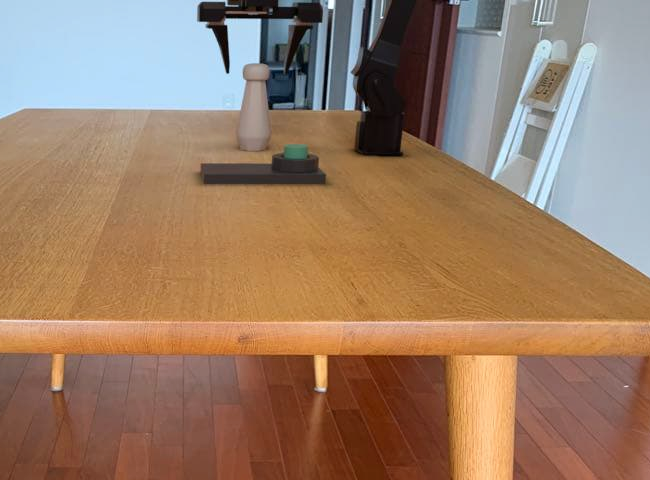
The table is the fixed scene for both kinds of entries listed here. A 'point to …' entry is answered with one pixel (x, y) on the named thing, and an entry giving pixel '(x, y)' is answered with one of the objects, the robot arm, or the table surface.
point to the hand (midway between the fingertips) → (256, 73)
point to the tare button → (295, 151)
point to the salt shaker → (254, 109)
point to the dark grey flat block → (265, 172)
